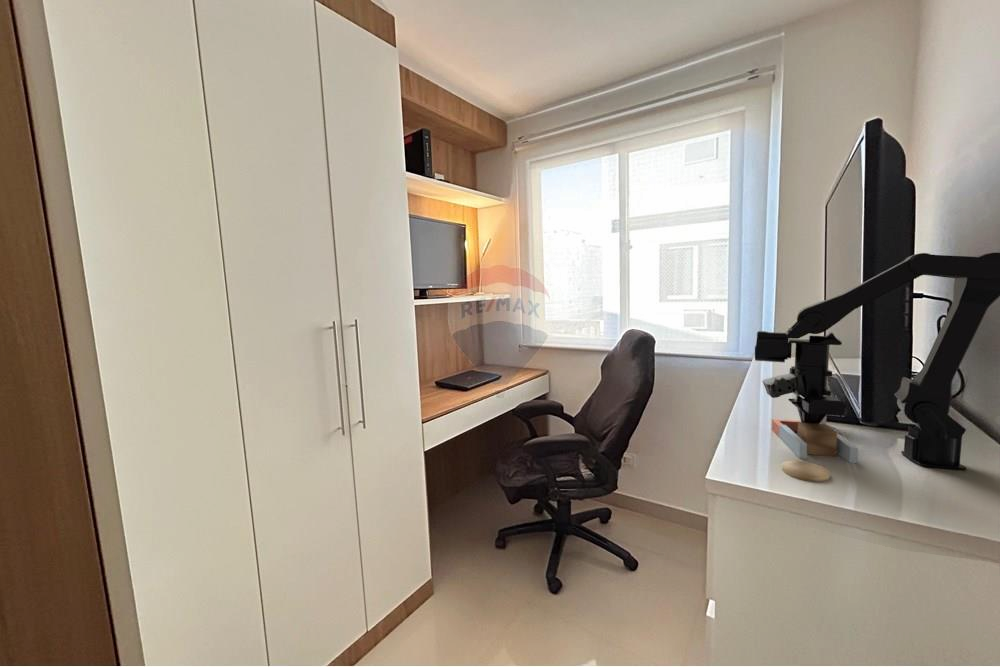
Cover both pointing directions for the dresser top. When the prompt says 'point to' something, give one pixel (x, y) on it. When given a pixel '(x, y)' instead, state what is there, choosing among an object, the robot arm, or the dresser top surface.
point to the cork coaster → (806, 471)
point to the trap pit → (790, 423)
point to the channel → (800, 446)
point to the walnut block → (818, 438)
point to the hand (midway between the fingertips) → (807, 434)
